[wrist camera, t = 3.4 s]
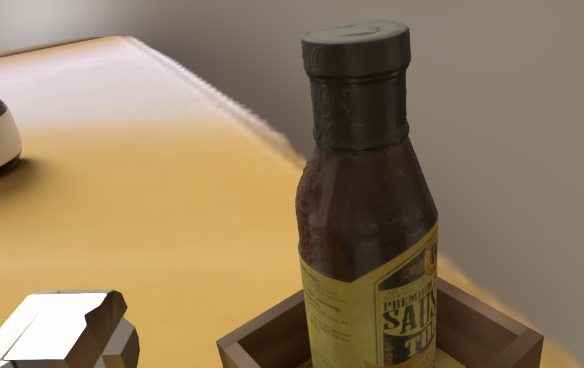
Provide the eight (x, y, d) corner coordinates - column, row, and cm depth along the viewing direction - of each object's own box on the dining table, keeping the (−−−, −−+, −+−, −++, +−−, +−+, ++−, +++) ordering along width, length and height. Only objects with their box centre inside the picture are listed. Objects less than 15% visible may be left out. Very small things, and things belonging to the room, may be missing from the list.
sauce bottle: (412, 476, 24) (402, 58, 14) (297, 425, 27) (228, 55, 17) (450, 373, 28) (461, 9, 19) (349, 340, 31) (316, 13, 22)
